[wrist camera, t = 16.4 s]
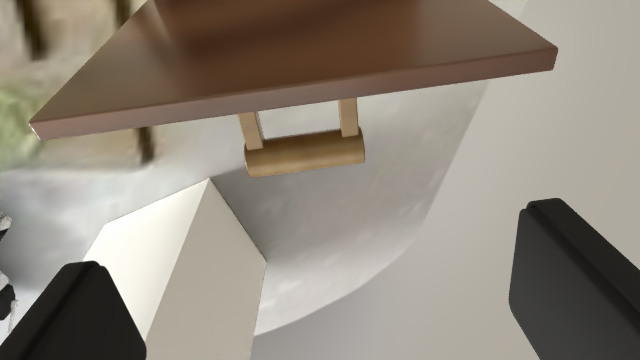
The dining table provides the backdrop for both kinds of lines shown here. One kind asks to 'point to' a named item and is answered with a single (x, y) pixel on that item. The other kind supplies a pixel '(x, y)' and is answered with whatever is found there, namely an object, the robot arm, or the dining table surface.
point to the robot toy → (6, 284)
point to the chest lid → (285, 67)
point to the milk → (186, 275)
